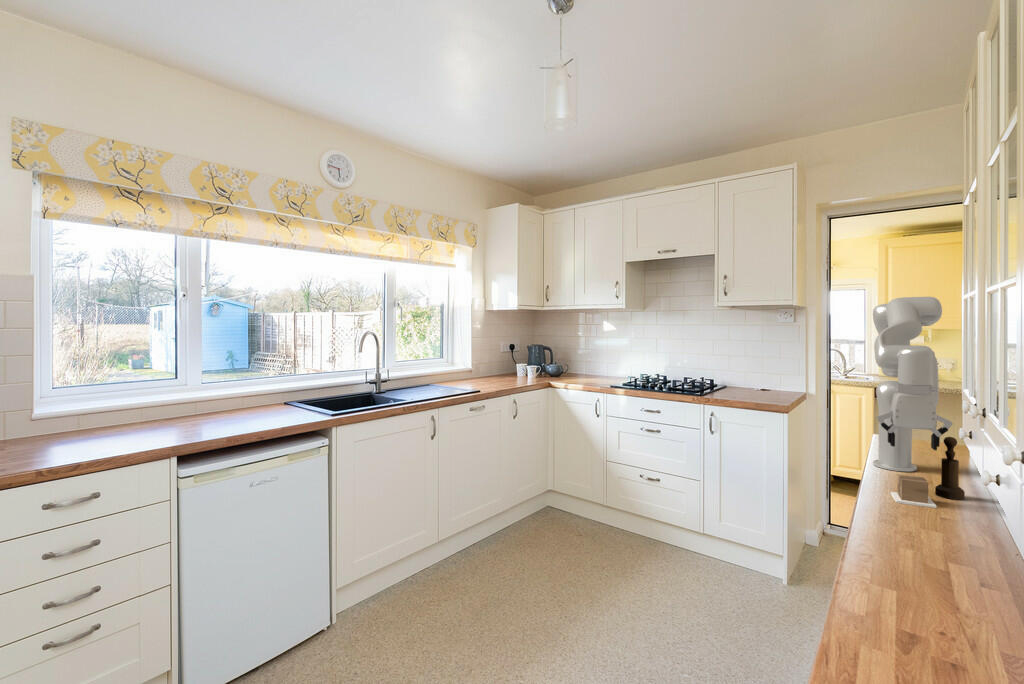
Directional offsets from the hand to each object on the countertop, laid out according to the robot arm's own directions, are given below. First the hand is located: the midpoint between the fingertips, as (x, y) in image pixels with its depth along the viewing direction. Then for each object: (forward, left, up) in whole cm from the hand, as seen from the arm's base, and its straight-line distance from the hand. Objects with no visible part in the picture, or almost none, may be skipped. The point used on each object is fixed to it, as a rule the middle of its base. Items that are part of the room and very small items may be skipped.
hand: (912, 447), depth 143 cm
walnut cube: (+1, 0, -15) cm, 15 cm away
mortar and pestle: (-9, +10, -16) cm, 21 cm away
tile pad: (+1, 0, -16) cm, 16 cm away
